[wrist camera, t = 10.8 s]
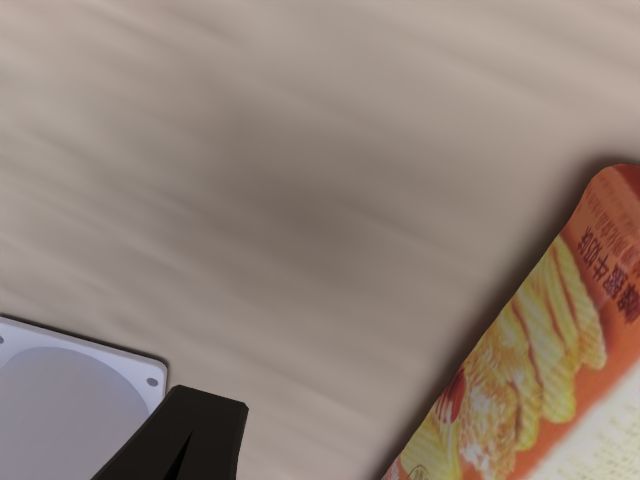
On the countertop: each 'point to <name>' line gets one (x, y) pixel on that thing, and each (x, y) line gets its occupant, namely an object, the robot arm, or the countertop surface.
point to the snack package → (552, 362)
